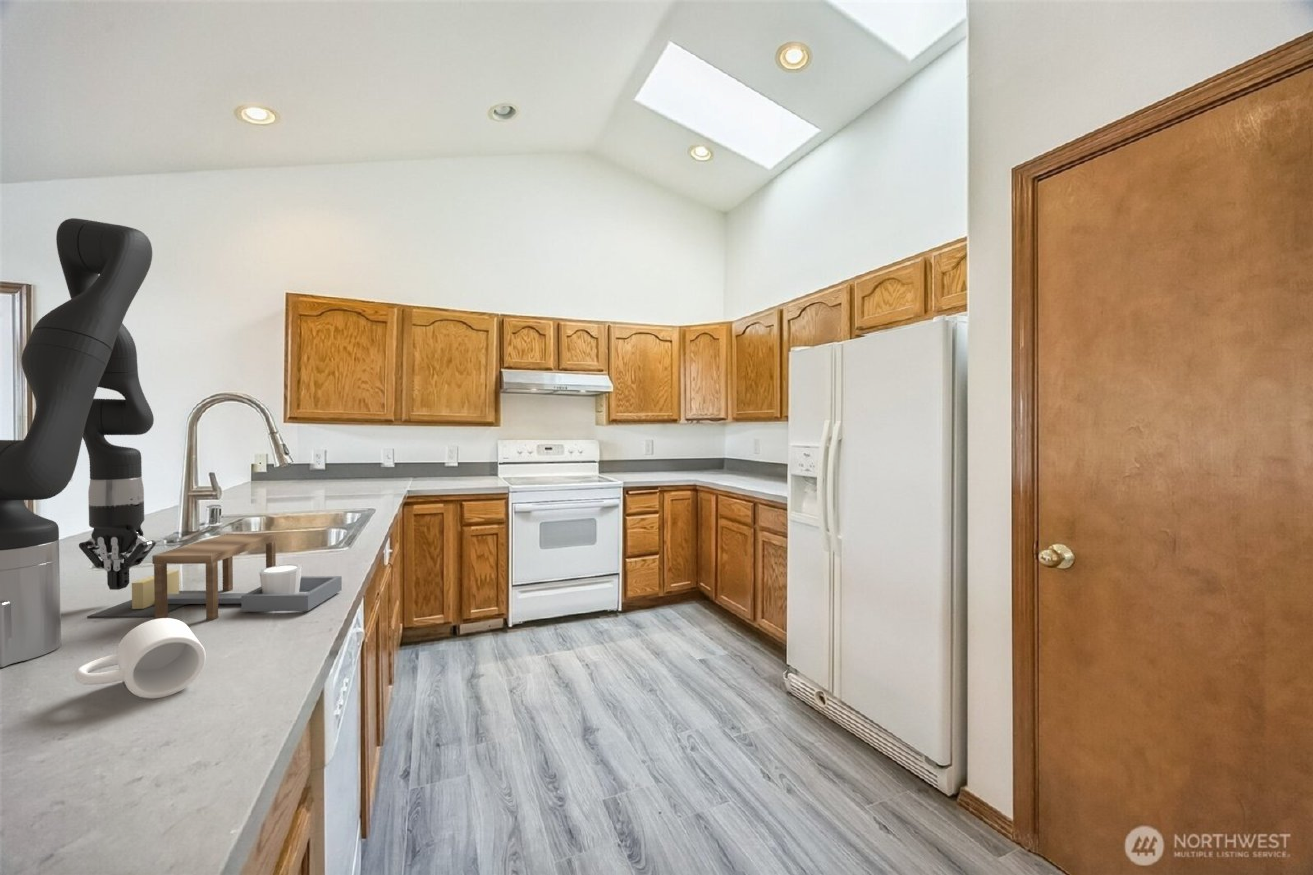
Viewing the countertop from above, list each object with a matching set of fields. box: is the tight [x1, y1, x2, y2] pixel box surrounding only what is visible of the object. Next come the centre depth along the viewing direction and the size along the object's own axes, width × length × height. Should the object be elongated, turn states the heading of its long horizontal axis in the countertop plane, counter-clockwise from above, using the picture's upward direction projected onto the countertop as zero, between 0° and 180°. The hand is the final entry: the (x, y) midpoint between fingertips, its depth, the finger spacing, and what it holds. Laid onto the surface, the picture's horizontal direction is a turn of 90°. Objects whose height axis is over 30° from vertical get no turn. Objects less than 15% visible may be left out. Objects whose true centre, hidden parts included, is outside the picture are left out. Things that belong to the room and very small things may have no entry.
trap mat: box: [86, 590, 206, 619], centre depth 102 cm, size 14×12×1 cm
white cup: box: [259, 563, 303, 594], centre depth 104 cm, size 7×7×7 cm
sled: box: [131, 569, 343, 613], centre depth 103 cm, size 12×33×5 cm, turn 94°
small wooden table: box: [151, 533, 277, 621], centre depth 103 cm, size 18×10×12 cm, turn 4°
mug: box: [74, 617, 207, 699], centre depth 71 cm, size 12×10×8 cm
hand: (118, 588), depth 102 cm, fingers closed
